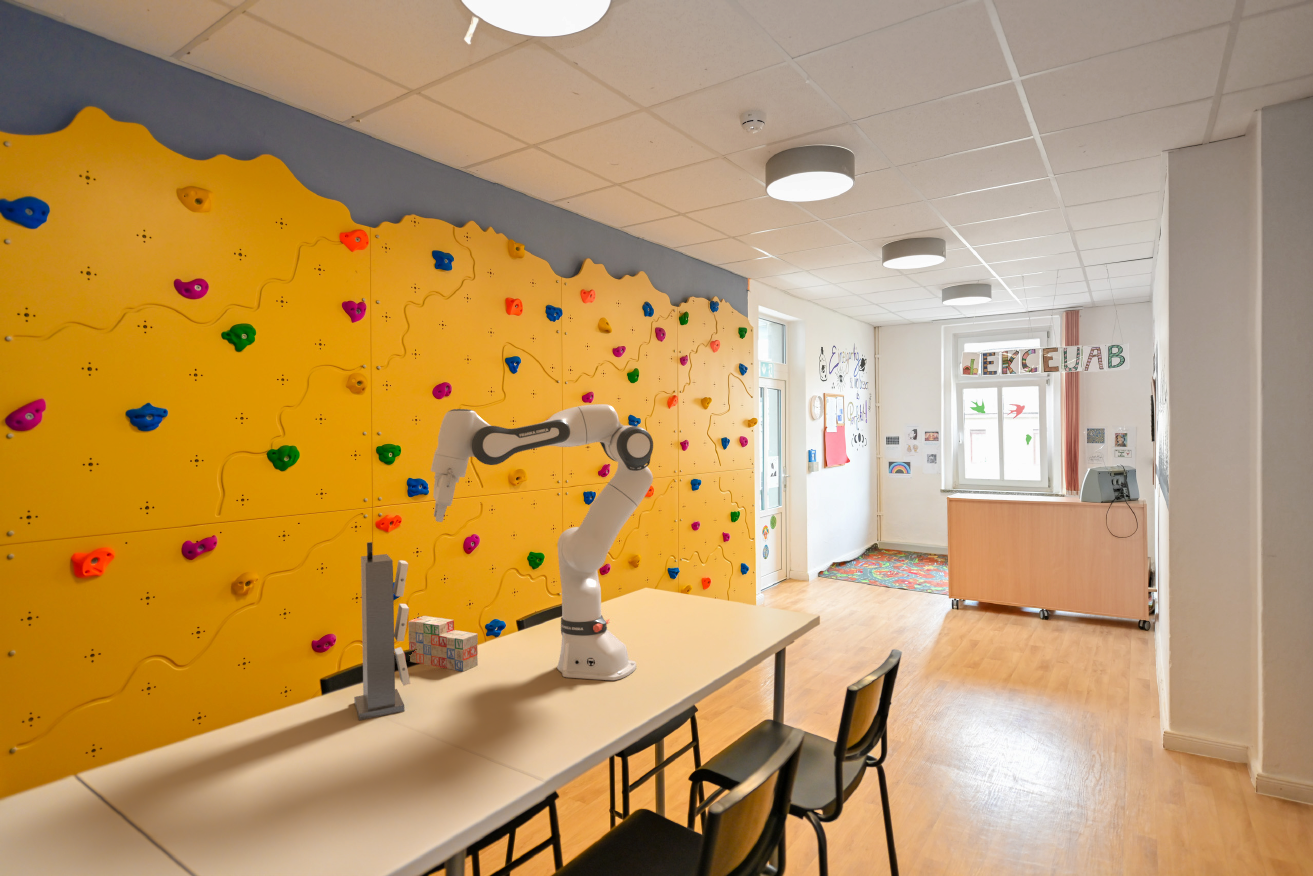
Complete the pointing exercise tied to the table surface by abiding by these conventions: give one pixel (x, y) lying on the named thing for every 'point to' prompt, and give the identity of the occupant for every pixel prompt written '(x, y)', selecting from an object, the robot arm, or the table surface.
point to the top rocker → (400, 578)
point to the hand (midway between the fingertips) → (437, 519)
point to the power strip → (377, 639)
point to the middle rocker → (401, 622)
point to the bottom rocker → (402, 666)
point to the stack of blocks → (442, 644)
